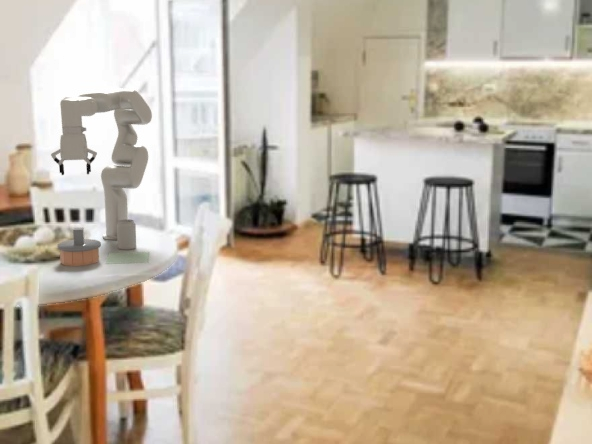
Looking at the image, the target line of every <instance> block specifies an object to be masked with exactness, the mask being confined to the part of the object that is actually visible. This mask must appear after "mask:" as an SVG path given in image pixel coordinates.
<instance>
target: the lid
mask: <svg viewBox="0 0 592 444" xmlns="http://www.w3.org/2000/svg"><path fill="white" fill-rule="evenodd" d="M84 229H85V227H73V229H72V233H73V235H72V236H73V239H70V240H69V239H68V240H65V241H61V242H59V243H57V246H56V247H57V250H59V251H60V250H62V251H68V252H80V251H89V250H94V249H97V248H100V247H101V246H102V242H101V241H100V240H98V239H91V238H90V239H89V238H85V230H84Z"/></svg>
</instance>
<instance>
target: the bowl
mask: <svg viewBox="0 0 592 444" xmlns="http://www.w3.org/2000/svg"><path fill="white" fill-rule="evenodd" d="M99 248H100V247H99ZM99 248H97V249H94V250H89V251H80V252H68V251H62V250H59V260H60V261H59V262H60V264H61V265H62V266H72V267H73V266H75V267H77V266H87V265H88V266H89V265H92V264H95V263H98V262H99V259H100V252H99V251H100V250H99Z"/></svg>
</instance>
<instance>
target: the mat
mask: <svg viewBox="0 0 592 444" xmlns="http://www.w3.org/2000/svg"><path fill="white" fill-rule="evenodd" d="M149 262H150V251H140V252H136V251H135V252H134V251H133V252H109V253H108V254H107V257H106V262H105V265H110V264H111V265H112V264H115V265H116V264H135V263H136V264H138V263H139V264H142V263H144V264H145V263H149Z"/></svg>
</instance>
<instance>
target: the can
mask: <svg viewBox="0 0 592 444" xmlns="http://www.w3.org/2000/svg"><path fill="white" fill-rule="evenodd" d="M134 221H135V220H133V219H129V218H128V219H125V220H119V221H118V222H119V223H118V224H117V240H116V241H117V248H118V249H119V250H122V251H129V250H134V249H136V248H137V229H136V228H137V227H136V223H135V222H134Z"/></svg>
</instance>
